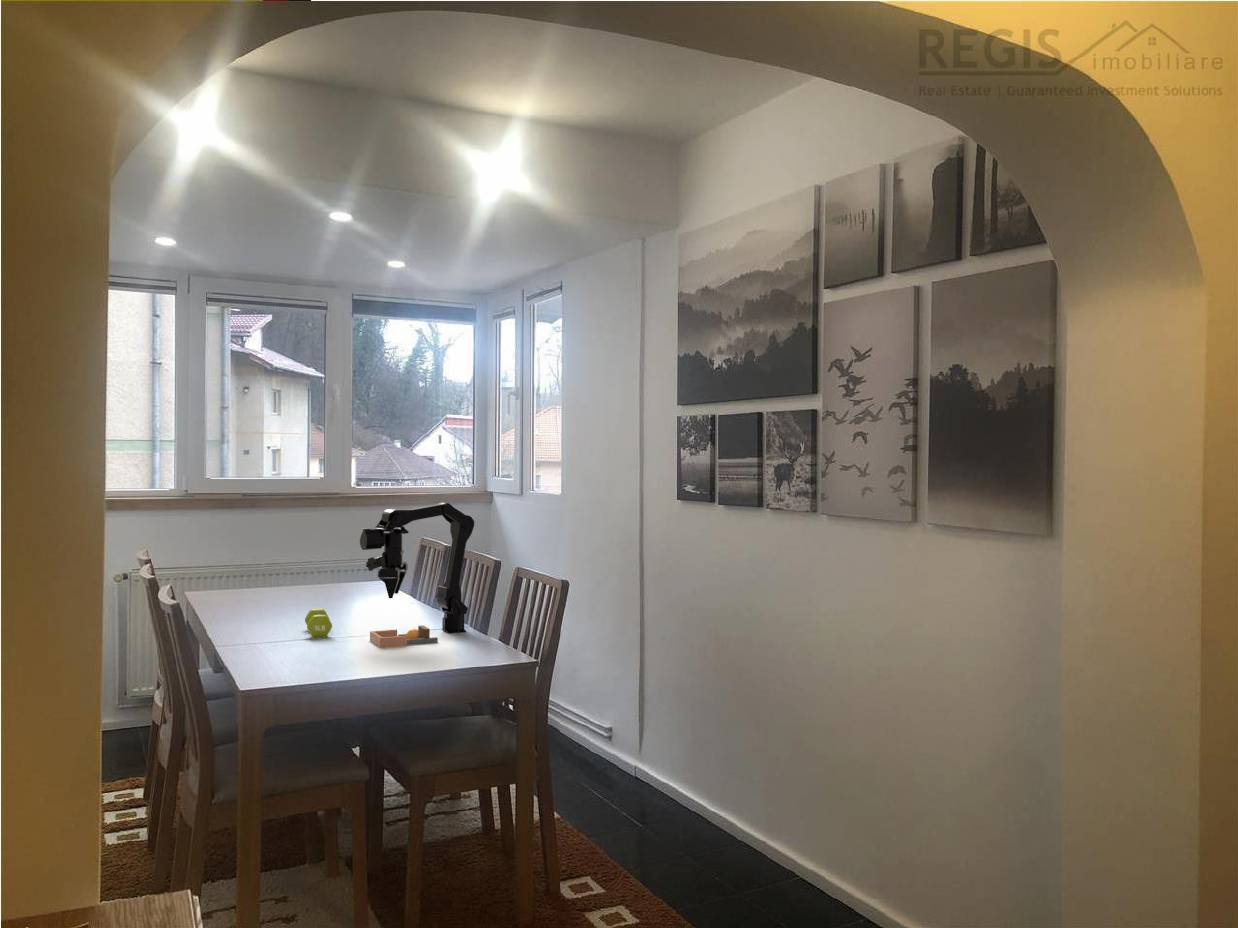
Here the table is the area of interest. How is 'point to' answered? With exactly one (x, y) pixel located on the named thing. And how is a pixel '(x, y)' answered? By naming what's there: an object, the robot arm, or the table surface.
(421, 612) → the table surface
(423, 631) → the brown wooden block
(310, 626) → the dumbbell
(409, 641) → the track
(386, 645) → the pocket
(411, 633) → the ball
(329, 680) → the table surface
